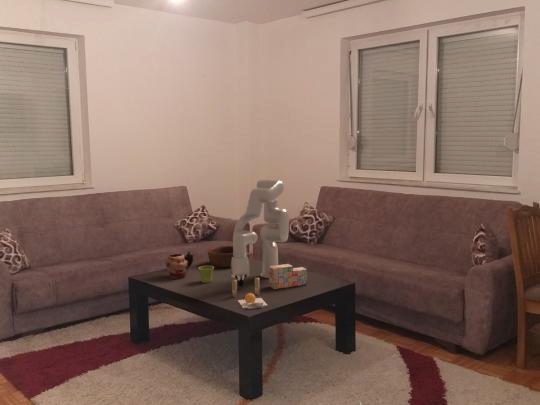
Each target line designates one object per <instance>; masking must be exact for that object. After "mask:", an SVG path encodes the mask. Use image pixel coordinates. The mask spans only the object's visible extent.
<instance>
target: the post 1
mask: <svg viewBox="0 0 540 405" xmlns="http://www.w3.org/2000/svg"><path fill="white" fill-rule="evenodd" d="M231 289H232V290H231V294H232V295H231V296H232V298H237V297H238V279H232V280H231Z"/></svg>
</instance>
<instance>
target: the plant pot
mask: <svg viewBox="0 0 540 405" xmlns="http://www.w3.org/2000/svg"><path fill="white" fill-rule="evenodd" d="M214 268H215V267H214V266H212V265H202V266H199V267H198V272H199V275H200V280H201V281H200V282H202V283H203V284H204V283H205V284H208V283H212V281H213V272H214Z"/></svg>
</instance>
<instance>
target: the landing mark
mask: <svg viewBox="0 0 540 405" xmlns="http://www.w3.org/2000/svg"><path fill="white" fill-rule="evenodd" d="M255 298H256V299H255V302H263V307H266V306H268V304H267V303H266V301H264V299H263V298H262V297H255ZM237 302H238V303H239V304H240V306H241V308H243V309H248V308H247V303H246V301H245V299H238V300H237ZM255 302H254V303H255Z"/></svg>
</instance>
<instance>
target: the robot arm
mask: <svg viewBox="0 0 540 405" xmlns="http://www.w3.org/2000/svg"><path fill="white" fill-rule="evenodd" d="M284 186H285V185H284V183H283V181H281V180H277V179H276V180H274V179H260V180H258V181H257V182H256V188H253V189H252V190H251V191H250V194H249V198H248V202H247V207H246V210H245V213H243V215H241V216H240V218H239V219H238V220H237V222H236V223H235V226H234V230H233V235H232V246H233V257H232V261H231V268H230V272H231V274H230V276H231V278H234V279H235V280H237V287H239V288H243V286H244V285H245V284H244V283H245V282H244V280H245V279H246V278H247V277H250V275H251V274H250V270H251V269H250V261H249V257H248V255H250V252H248V250H247V245H254V244H256V243H257V241H258V239H259V236H258V234H257V232H255V231H251V230H244V228H245V226H246V225H247V224H248V223H249V222H251V221H253V220H255V219H257V218H259V217H260V216H261V213H262V210H263V220H264V222H265V223H267V225H264V226H262V227H261V229H260V238H261V245H262V246H261V248H262V253H261V254H262V272H261V273H260V277H261V278H263V279H264V278H265V279H270V277H269V266H276V265H279V249H278V245H277V243H285V242H287V241H288V238H289V234H290V233H289V229H290V227H289V226H290V214H289V212H288V210H287V209H285V208H279V203H278V202H279V201H278V198H279V197H280V196H281V195H282V194H283V192H284V188H285V187H284ZM262 208H263V209H262ZM269 224H270V225H269ZM271 224H272V225H271ZM274 224H276V225H274ZM240 276H241V277H240Z"/></svg>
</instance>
